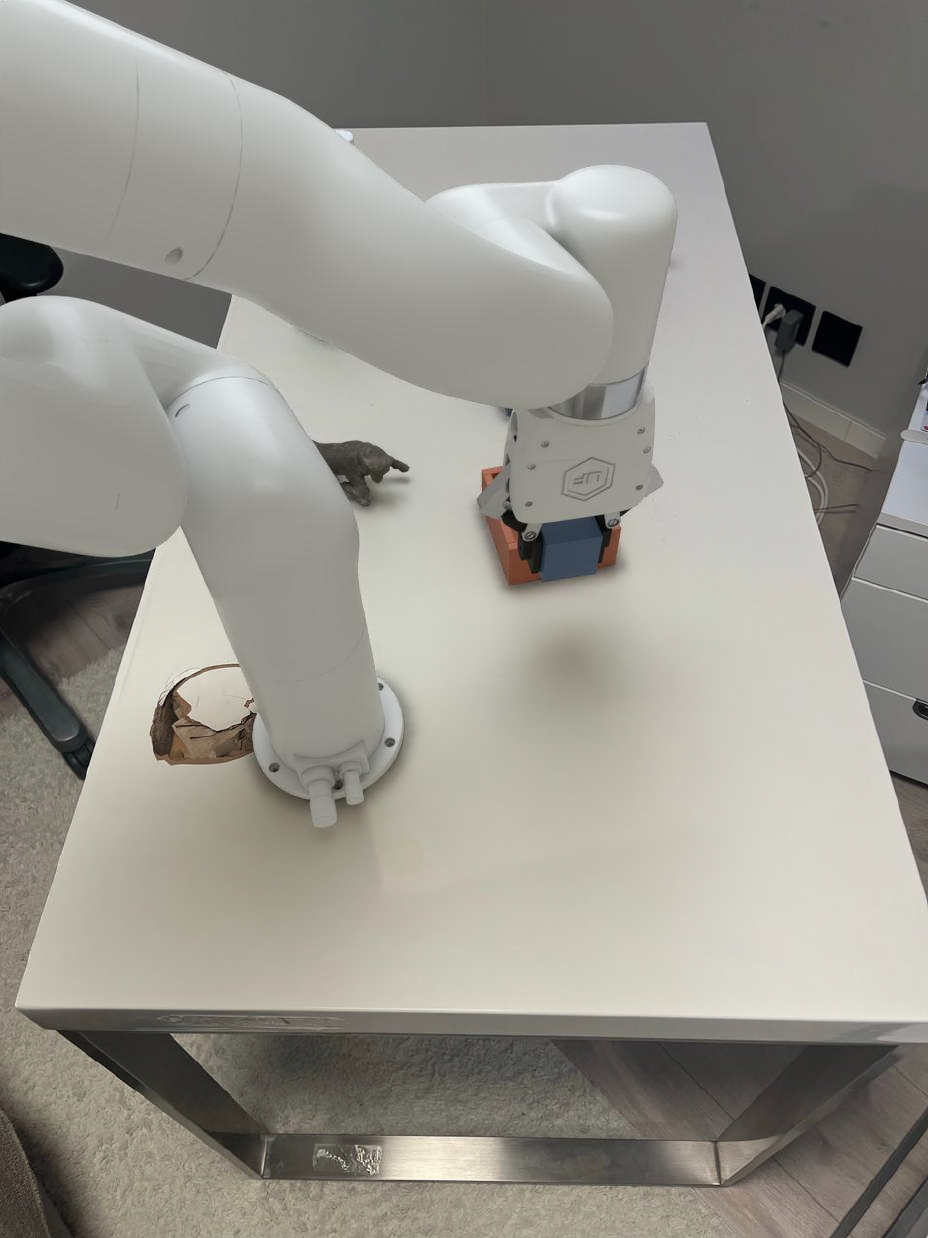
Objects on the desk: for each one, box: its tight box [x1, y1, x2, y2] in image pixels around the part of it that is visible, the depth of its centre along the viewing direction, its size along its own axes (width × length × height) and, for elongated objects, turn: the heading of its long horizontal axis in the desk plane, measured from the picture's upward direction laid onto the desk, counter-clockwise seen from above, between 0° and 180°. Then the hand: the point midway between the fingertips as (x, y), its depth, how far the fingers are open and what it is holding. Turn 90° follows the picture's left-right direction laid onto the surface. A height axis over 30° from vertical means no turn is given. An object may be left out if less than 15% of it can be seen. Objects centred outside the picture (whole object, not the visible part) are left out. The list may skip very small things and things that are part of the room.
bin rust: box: [481, 465, 622, 586], centre depth 87 cm, size 11×11×5 cm
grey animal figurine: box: [312, 439, 411, 506], centre depth 90 cm, size 12×6×7 cm, turn 82°
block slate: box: [539, 516, 603, 583], centre depth 72 cm, size 4×4×4 cm
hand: (561, 554), depth 73 cm, fingers closed on block slate, 4 cm apart
